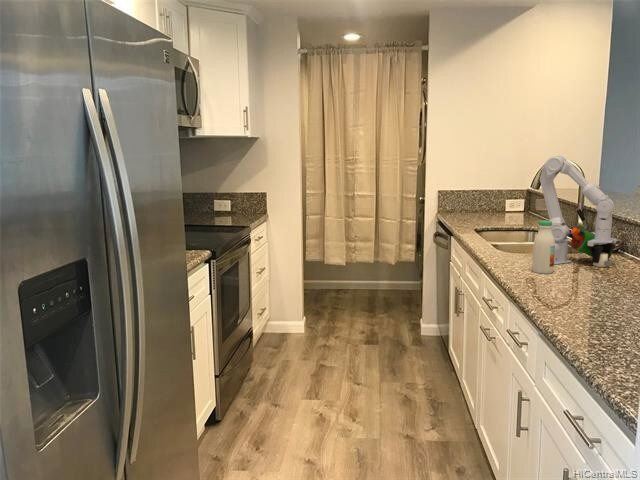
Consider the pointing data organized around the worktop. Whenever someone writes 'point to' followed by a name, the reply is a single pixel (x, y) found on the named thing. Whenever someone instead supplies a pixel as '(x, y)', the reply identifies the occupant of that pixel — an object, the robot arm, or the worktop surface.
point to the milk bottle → (544, 249)
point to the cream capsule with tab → (603, 260)
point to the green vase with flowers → (581, 240)
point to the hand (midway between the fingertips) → (600, 262)
